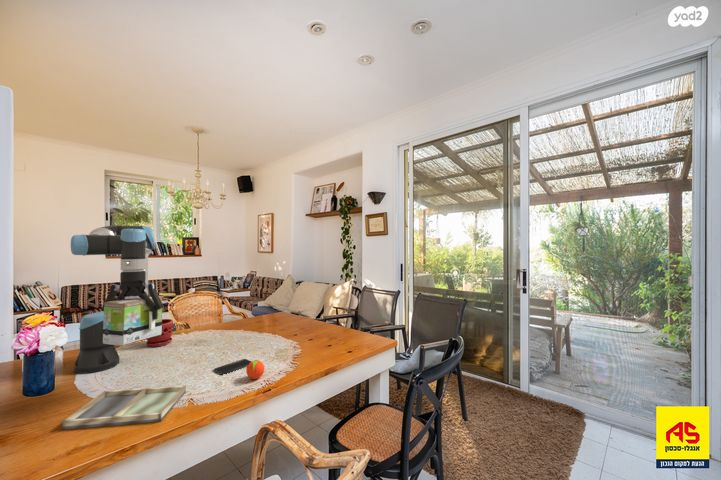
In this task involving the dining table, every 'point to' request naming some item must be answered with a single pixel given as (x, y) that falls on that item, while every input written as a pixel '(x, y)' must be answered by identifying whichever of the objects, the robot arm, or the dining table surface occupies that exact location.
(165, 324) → the plant pot
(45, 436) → the dining table surface
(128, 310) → the tea box
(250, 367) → the clementine
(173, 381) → the dining table surface
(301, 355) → the dining table surface
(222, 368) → the phone
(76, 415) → the organiser
